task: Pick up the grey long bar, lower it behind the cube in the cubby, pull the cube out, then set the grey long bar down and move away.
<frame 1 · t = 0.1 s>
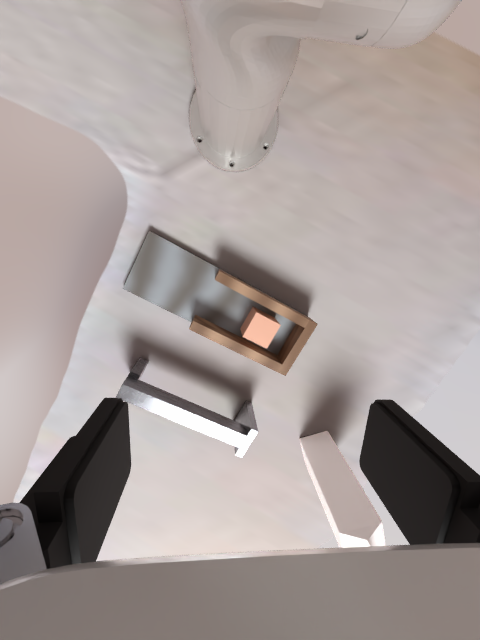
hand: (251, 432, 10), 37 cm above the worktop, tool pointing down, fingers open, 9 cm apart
cube: (257, 323, 47), point 1 cm above the worktop, touching cubby
grey long bar: (192, 391, 50), on the worktop
milk: (315, 445, 56), on the worktop
cubby: (246, 316, 47), on the worktop
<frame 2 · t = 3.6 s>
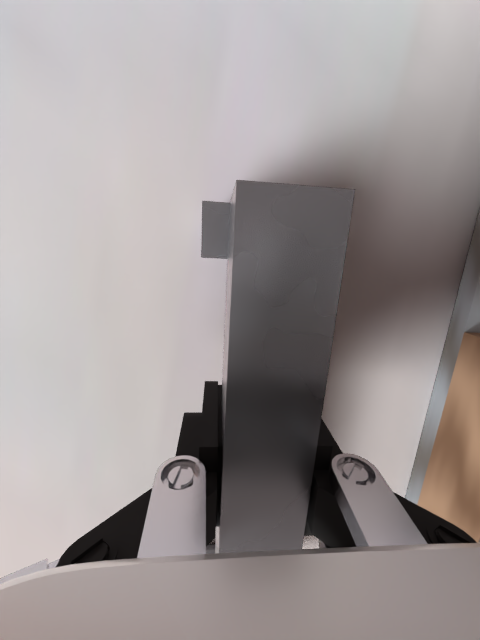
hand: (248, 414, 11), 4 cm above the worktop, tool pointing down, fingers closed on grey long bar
grey long bar: (237, 417, 16), on the worktop, touching gripper
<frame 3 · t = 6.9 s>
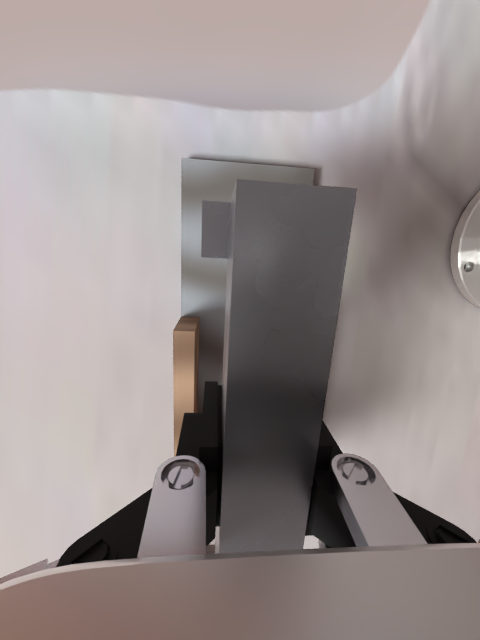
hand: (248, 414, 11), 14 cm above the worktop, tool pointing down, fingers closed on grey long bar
grey long bar: (237, 418, 16), point 10 cm above the worktop, touching gripper
cubby: (235, 396, 26), on the worktop
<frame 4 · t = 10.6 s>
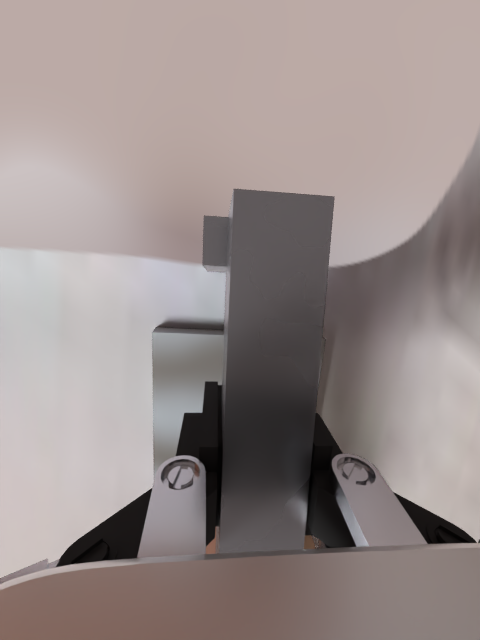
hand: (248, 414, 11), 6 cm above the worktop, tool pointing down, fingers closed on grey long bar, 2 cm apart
grey long bar: (236, 434, 16), point 2 cm above the worktop, tilted 7°, touching gripper
cubby: (222, 572, 22), on the worktop
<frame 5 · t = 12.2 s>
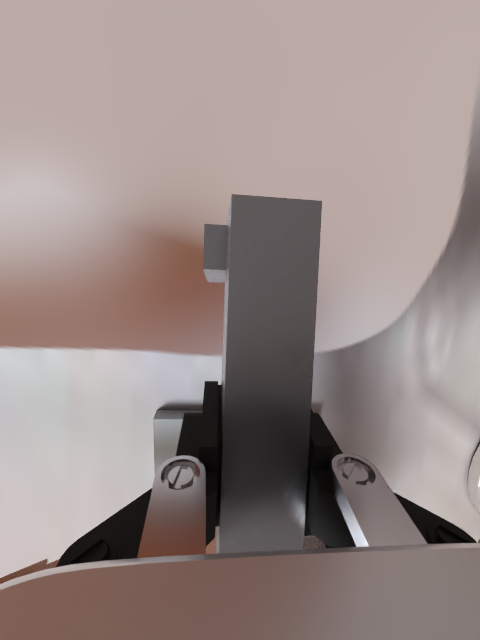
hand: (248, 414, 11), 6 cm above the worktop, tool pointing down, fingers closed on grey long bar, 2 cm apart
grey long bar: (236, 443, 16), point 2 cm above the worktop, tilted 11°, touching cube, gripper
cubby: (222, 620, 23), on the worktop
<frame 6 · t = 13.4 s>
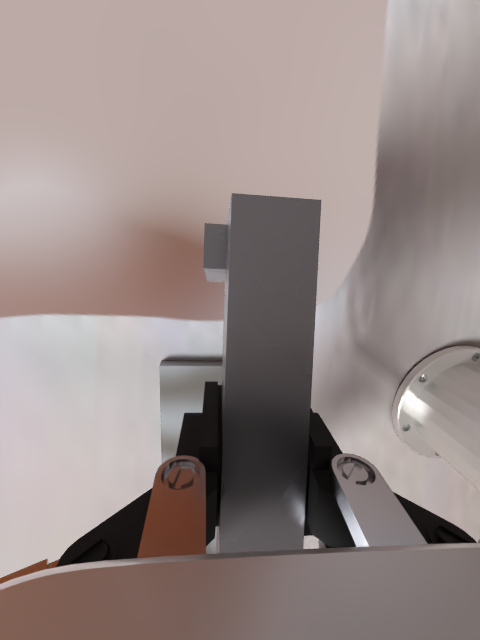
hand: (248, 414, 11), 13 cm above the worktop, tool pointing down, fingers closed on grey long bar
grey long bar: (236, 443, 16), point 9 cm above the worktop, tilted 12°, touching gripper
cubby: (211, 530, 30), on the worktop
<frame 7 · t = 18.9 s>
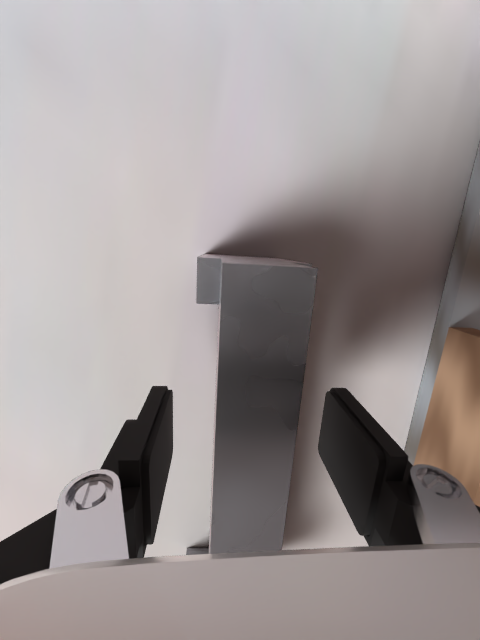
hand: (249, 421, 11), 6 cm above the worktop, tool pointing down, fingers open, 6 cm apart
grey long bar: (231, 430, 18), on the worktop
cubby: (474, 434, 19), on the worktop
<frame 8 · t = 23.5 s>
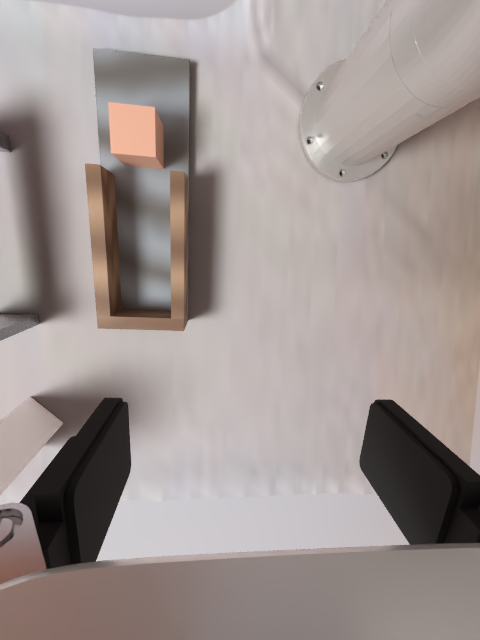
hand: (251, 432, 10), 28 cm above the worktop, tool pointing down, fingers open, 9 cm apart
cube: (144, 146, 31), point 1 cm above the worktop, touching cubby
grey long bar: (4, 236, 33), on the worktop
milk: (34, 421, 40), on the worktop
cubby: (149, 247, 35), on the worktop
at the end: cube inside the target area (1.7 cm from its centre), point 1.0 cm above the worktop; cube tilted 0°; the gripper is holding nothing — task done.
